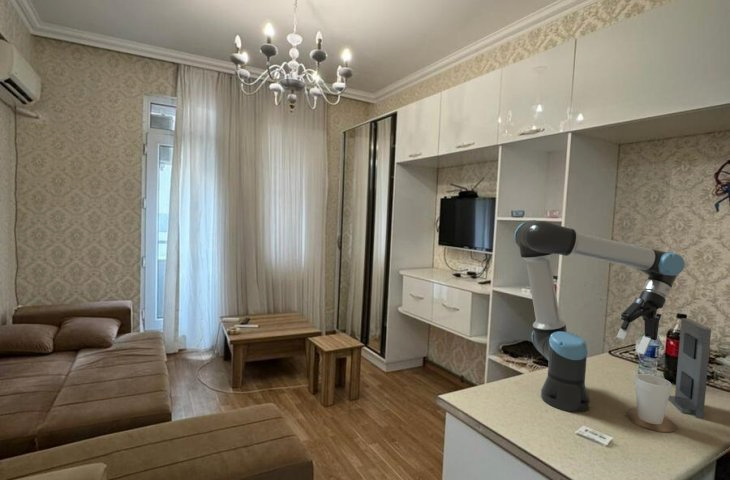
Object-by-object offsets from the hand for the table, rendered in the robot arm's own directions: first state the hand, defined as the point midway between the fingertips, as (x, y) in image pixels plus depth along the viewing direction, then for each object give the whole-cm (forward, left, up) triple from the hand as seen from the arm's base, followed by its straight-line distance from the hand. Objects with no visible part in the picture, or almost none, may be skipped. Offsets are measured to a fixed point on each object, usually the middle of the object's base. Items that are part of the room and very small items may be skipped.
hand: (630, 346), depth 136 cm
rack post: (+17, -1, -19) cm, 26 cm away
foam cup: (+1, -16, -19) cm, 25 cm away
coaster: (+1, -16, -19) cm, 25 cm away
